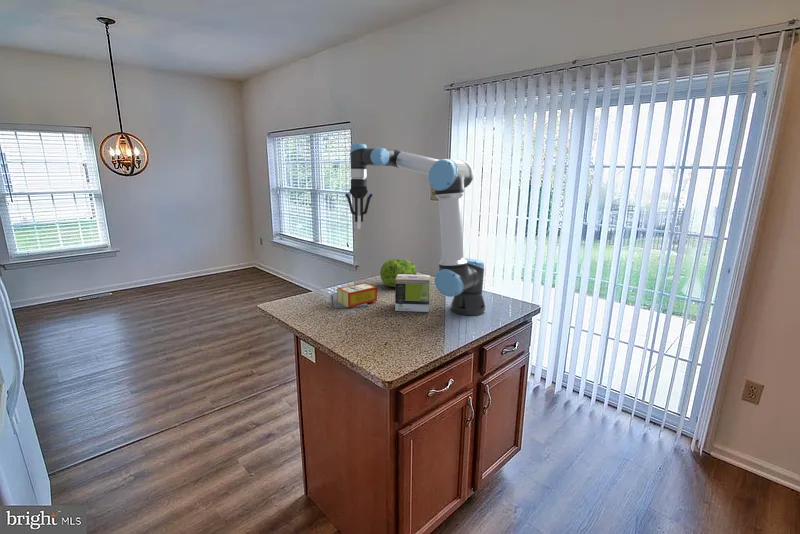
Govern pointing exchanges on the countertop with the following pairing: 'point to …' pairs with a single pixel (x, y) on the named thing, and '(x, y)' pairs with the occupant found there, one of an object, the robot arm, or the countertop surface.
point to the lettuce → (396, 270)
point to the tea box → (412, 292)
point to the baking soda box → (356, 294)
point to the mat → (338, 305)
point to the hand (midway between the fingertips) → (359, 228)
